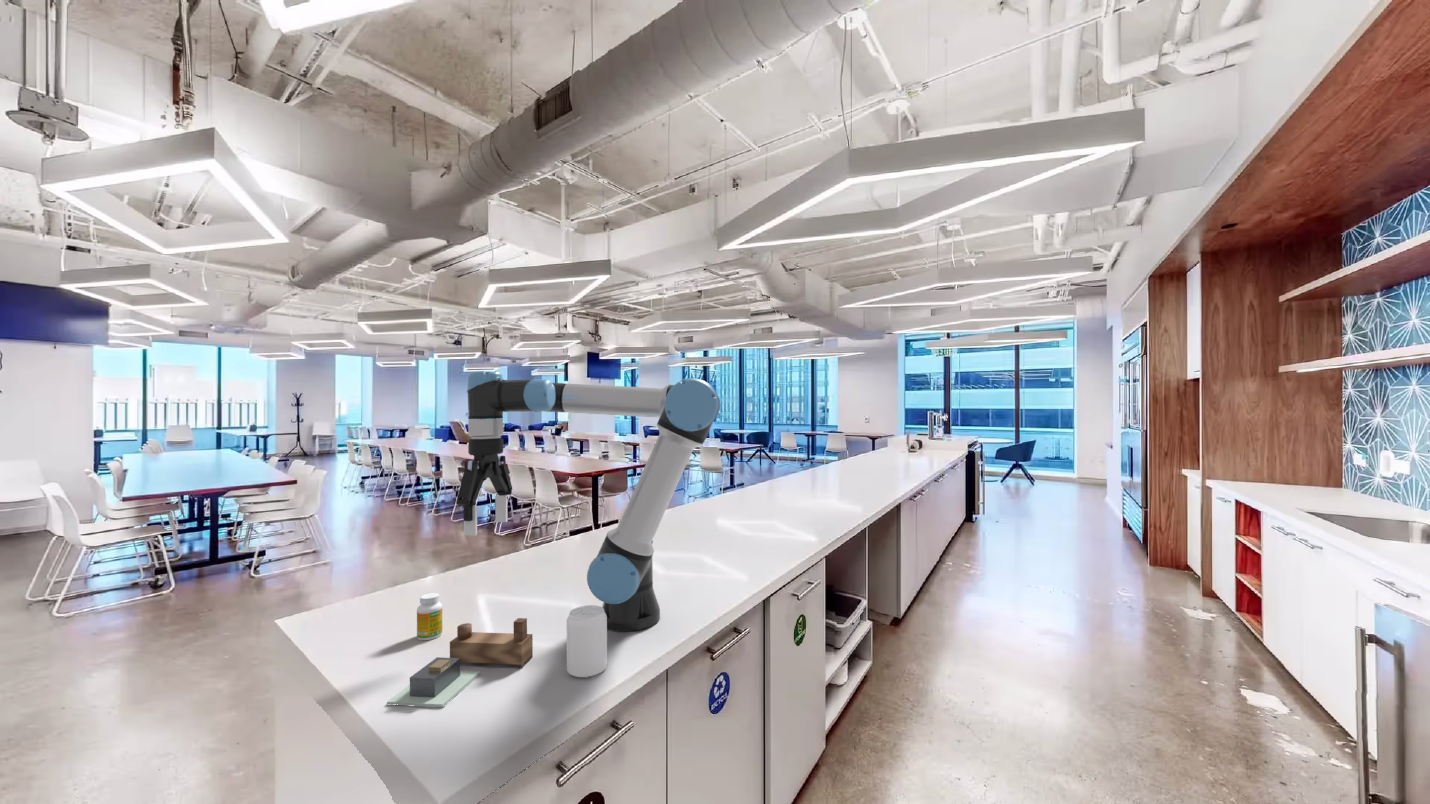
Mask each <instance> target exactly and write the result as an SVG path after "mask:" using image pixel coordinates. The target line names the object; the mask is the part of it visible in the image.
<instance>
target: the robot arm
mask: <svg viewBox="0 0 1430 804" xmlns="http://www.w3.org/2000/svg"><path fill="white" fill-rule="evenodd" d="M467 378H468V379H467V390H466V393H467V408H468V409H467V410H468V412H467V413H468V416H467V419H468V421H467V422H468V424H467V427H468V428H467V429H468V437H469V440H468V441H467V443H468V445H467V447H468V448H467V449H468V455H470V456H473V460H465V461H464V468H463V469H464V471H463V475H462V477H461V478H462V479H461V482H460V486H459V489H458V490H459V491H458V492H457V493H458V494H457V496H456V497H457V498H456V501H455V503H456V505H457V506H459V507H462V508H463V510H462V511H463V512H462V515H463V518H462V520H463V536H471V537H472V536H473V537H475V536H478V505H475V504H476V501H477V499H478V496H479V494H480V491H481V489H482V486H483V483H484V482H485V481H486V480H487V479H488V478H489V481H490V482H491V484H492V486H493V488H494V490H495V492H496V495H495V496H494V498H495V499H494V500H495V501H494V503H495V523H508V496H509V495H512V493H513V492H512V491H513V485H512V482H511V477H510V474H509V471H508V467H507V462H506V460H507V459H506V456H505V455H500V454H503V453H504V438H503V437H502V436H503V435H504V413H509V412H514V413H515V412H516V413H517V412H535V413H540V412H547V413H548V412H549V413H554V412H555V413H572V414H574V413H575V414H586V415H587V414H589V415H590V414H591V415H592V414H593V415H607V416H626V417H643V418H657V419H658V421H657V423H656V426H657V428H658V432H659V434H658V436H657V439H656V441H655V443H654V446H653V448H652V450H651V453H650V454H649V456H648V459H647V462H646V463H645V465H644V468H643V470H642V472H641V475H640V477H639V478H638V481H637V483H636V484H635V485H636V486H635V488H634V490H633V492H632V495H631V497H630V499H629V501H628V503H627V505H626V508H625V510H624V512H623V514H622V516H621V518H620V521H619V523H618V525H617V527H615V528H612V529H610V530H608V531H607V532H606V536H605V538H604V540H603V542H602V544H601V547H600V549H599V551H598V553H597V555H596V557H594V558H593V560H592V561H591V562H590V564H589V566H588V569H587V573H586V582H587V586H588V589H589V590H590V592H591V594H592V595H593V597H595V598H596V599H597V600H599V601H601V602H603V603H602V606H601V607H602V608H604V612H605V613H606V616H607V630H610V631H613V632H614V631H615V632H634V631H635V632H636V631H640V630H644V628H645V629H647V628H650V627H652V626H654V625H655V624H657V623H658V622H659V621H660V619H661V608H660V605H659V602H658V599H657V596H656V593H655V590H654V584H653V583H654V581H653V579H654V577H653V573H654V571H653V556H654V553H655V549H654V547H653V543H654V537H655V535H656V533H657V530H658V528H659V527H660V524H661V522H662V520H663V517H664V515H665V513H666V510H667V509H668V506H669V504H670V501H671V500H672V498H673V495H674V493H675V491H676V489H677V486H678V485H679V482H680V480H681V478H682V476H683V473H684V471H685V468H686V466H687V465H688V462H689V460H690V458H691V455H692V453H693V451H694V450H695V449H697V448H698V447H701V446H703V445H704V443H705V441H706V439H707V437H708V434H709V431H710V430H711V427H712V425H713V423H714V421H715V420H716V418H717V416H718V415H719V412H720V407H721V403H720V397H719V395H718V392H717V391H716V390H715V388H714V386H712V385H711V384H710V383H709V382H707V381H705V380H703V379H700V378H695V377H690V378H684V379H682V380H680V381H678V382H676V383H675V384H667V385H665V386H664V387H663V388H662V387H646V386H645V387H643V386H624V385H623V386H621V385H607V384H606V385H604V384H602V385H600V384H587V383H586V384H583V383H562V382H552V381H551V380H550V379H542V378H532V379H530V378H529V379H504V378H503V374H502V373H501V372H499V371H483V370H482V371H472V372H470V373H469V375H468V377H467Z"/></svg>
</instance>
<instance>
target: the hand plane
mask: <svg viewBox="0 0 1430 804" xmlns="http://www.w3.org/2000/svg"><path fill="white" fill-rule="evenodd" d="M472 627H473V626H472V623H468V622H466V623H462V624H459V625H458V626H457V627H456V629H457V630H456V632H457V634H456V635H457V636H456V637H454V638H453V639H451V640H450V641H449V658H460V667H474V668H475V667H477V668H479V667H480V668H499V669H500V668H502V669H523V668H524V666H525V667H526V665H527V663H529V662H530V661H531V659H532V658H533V657H534V656H533V655H534V650H533V648H534V647H533V645H534V644H533V633H528V618H525V617H517V618H516V619H515V620H513V633H505V632H482V631H481V632H480V631H479V632H478V631H475V632H474V631H473V629H472Z"/></svg>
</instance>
